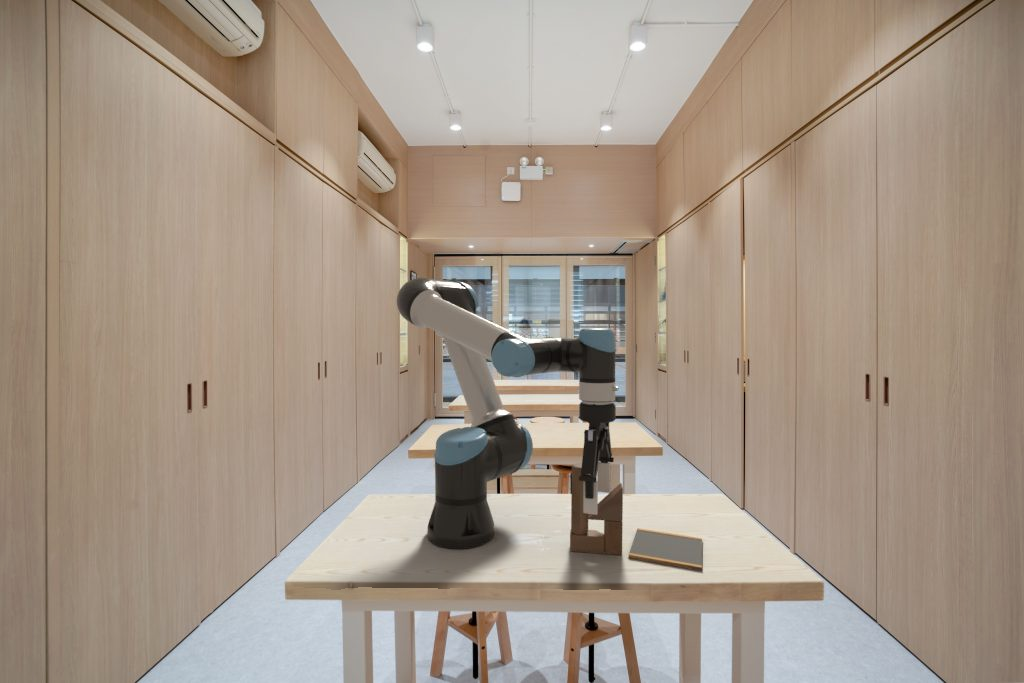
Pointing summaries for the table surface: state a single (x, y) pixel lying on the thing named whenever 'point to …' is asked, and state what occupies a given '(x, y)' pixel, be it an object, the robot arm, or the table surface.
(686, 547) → the mat
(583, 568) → the table surface
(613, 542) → the wooden block assembly
